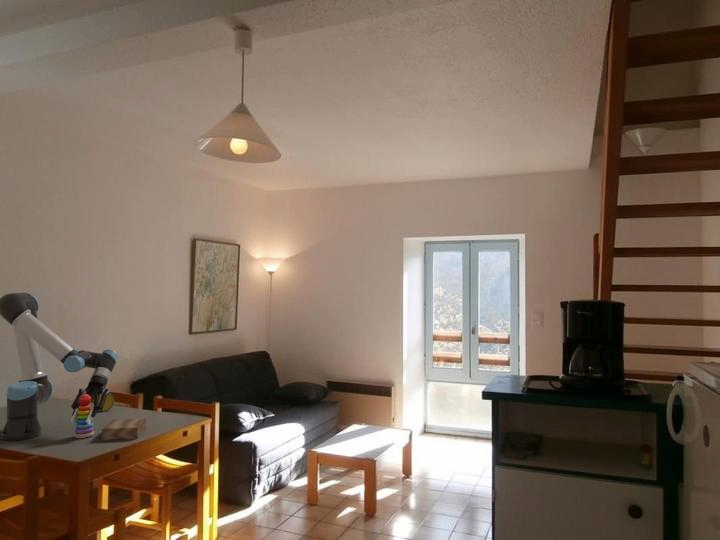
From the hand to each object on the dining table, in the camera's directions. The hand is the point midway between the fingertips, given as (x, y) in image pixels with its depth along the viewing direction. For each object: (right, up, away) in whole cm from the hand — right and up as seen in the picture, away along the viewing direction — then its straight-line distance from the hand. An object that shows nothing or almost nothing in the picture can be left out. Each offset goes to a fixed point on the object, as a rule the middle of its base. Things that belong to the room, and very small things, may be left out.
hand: (80, 423), depth 231 cm
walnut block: (+17, -7, +6) cm, 19 cm away
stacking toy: (0, -7, +3) cm, 8 cm away
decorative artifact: (-15, -8, +51) cm, 54 cm away
